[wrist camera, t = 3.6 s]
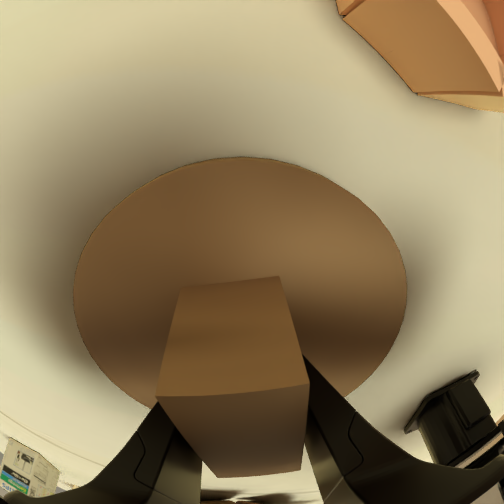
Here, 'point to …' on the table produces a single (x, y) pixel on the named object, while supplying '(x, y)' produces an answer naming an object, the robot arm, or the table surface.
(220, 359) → the lid
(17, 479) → the light bulb box
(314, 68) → the table surface
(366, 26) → the bowl
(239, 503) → the oil lamp
